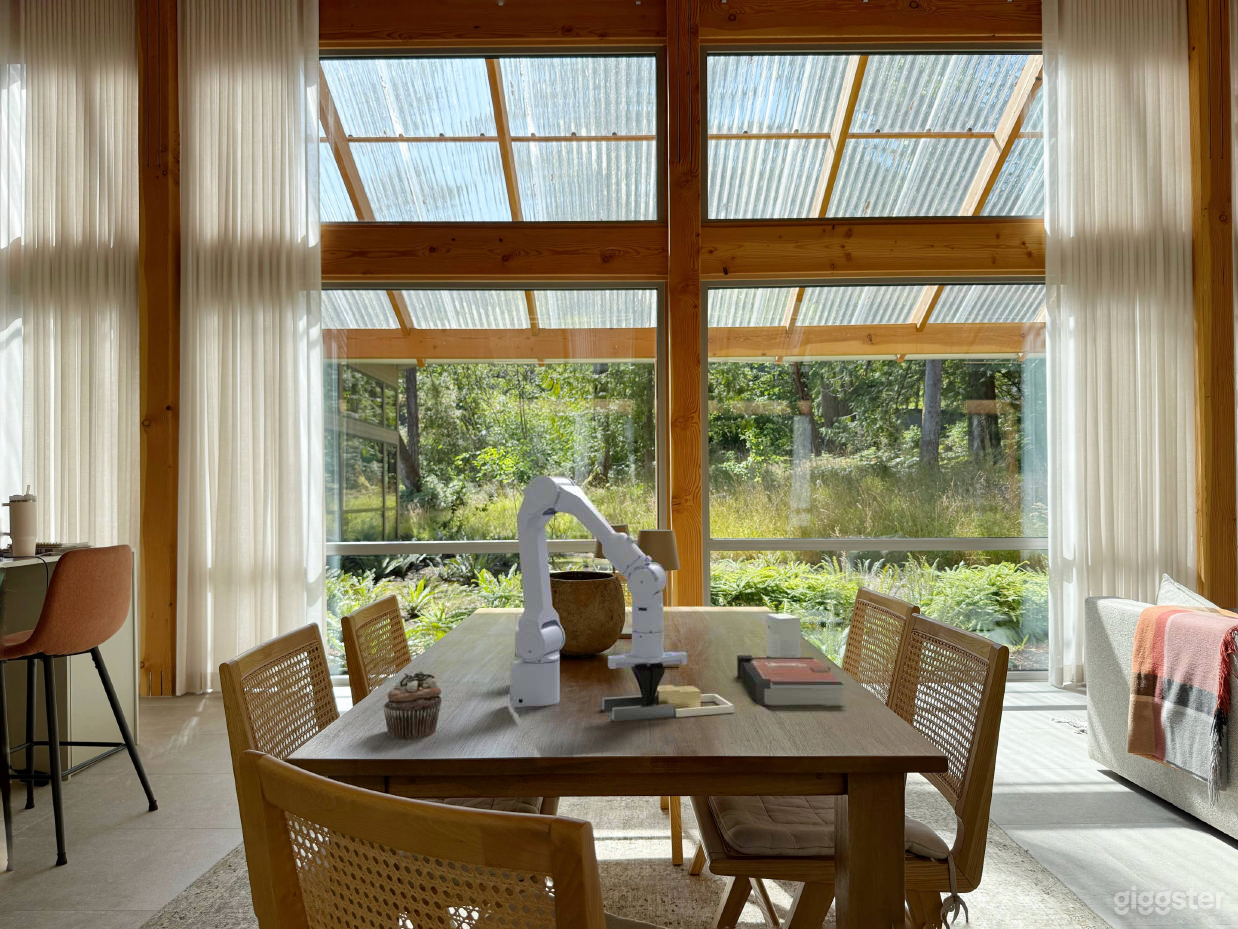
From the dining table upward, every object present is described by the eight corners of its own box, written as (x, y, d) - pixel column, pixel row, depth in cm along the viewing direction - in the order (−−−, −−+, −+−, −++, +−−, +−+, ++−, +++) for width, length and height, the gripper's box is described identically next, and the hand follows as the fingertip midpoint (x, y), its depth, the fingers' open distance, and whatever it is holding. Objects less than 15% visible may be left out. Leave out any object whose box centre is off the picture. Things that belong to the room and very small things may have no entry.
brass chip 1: (658, 713, 147) (658, 691, 147) (652, 708, 150) (652, 686, 151) (679, 712, 148) (679, 690, 148) (672, 706, 151) (672, 685, 152)
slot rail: (614, 726, 142) (614, 709, 142) (602, 714, 150) (602, 697, 150) (674, 722, 145) (673, 705, 145) (659, 710, 153) (659, 693, 153)
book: (848, 709, 155) (847, 682, 155) (756, 709, 155) (756, 682, 155) (815, 677, 181) (815, 655, 182) (737, 678, 181) (737, 655, 182)
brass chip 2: (679, 714, 148) (679, 691, 148) (672, 708, 151) (672, 686, 152) (700, 712, 149) (700, 690, 149) (692, 707, 152) (693, 685, 153)
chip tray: (676, 722, 145) (676, 710, 145) (660, 709, 153) (660, 697, 154) (734, 717, 147) (734, 705, 148) (715, 705, 156) (715, 693, 156)
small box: (801, 661, 197) (801, 617, 197) (780, 662, 195) (779, 618, 196) (787, 655, 204) (786, 612, 205) (766, 656, 203) (766, 613, 204)
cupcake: (414, 721, 146) (415, 665, 146) (452, 730, 140) (453, 672, 141) (370, 734, 138) (371, 675, 138) (409, 744, 132) (409, 682, 133)
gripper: (614, 636, 143) (615, 714, 142) (692, 632, 147) (693, 708, 146) (604, 629, 150) (605, 704, 149) (679, 626, 153) (680, 699, 153)
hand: (648, 706), depth 148 cm, fingers closed
